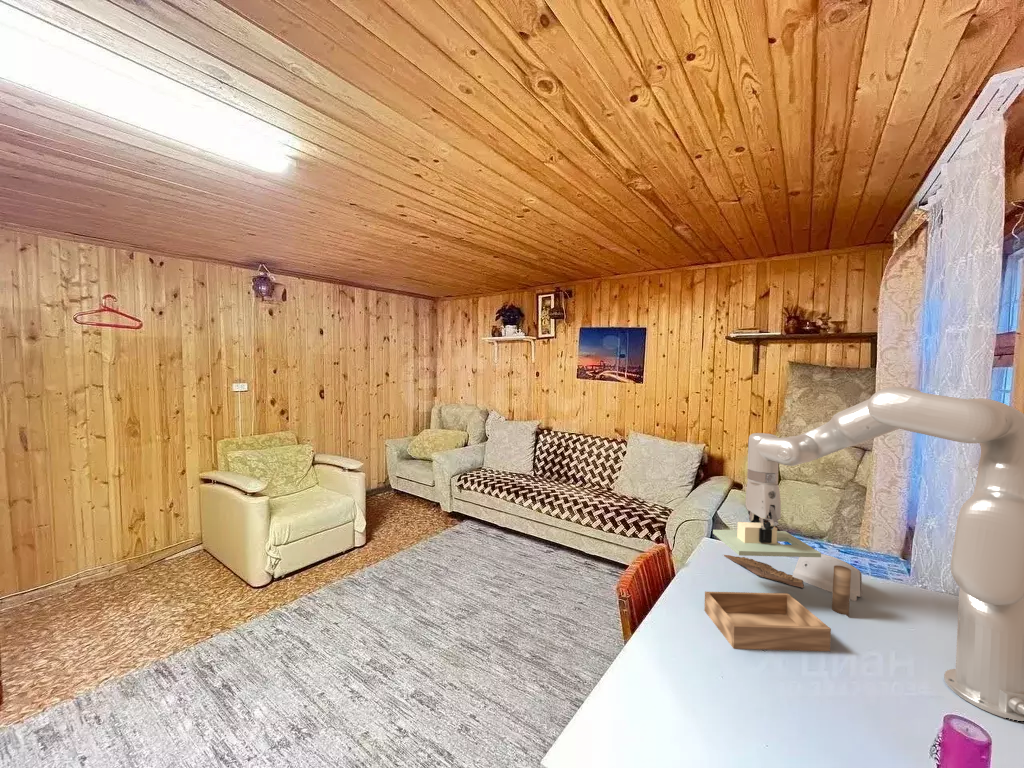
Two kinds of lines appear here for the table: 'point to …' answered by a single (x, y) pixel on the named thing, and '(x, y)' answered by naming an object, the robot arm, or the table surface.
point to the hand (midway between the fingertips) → (760, 538)
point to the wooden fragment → (766, 571)
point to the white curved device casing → (826, 573)
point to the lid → (748, 543)
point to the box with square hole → (766, 621)
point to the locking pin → (841, 590)
